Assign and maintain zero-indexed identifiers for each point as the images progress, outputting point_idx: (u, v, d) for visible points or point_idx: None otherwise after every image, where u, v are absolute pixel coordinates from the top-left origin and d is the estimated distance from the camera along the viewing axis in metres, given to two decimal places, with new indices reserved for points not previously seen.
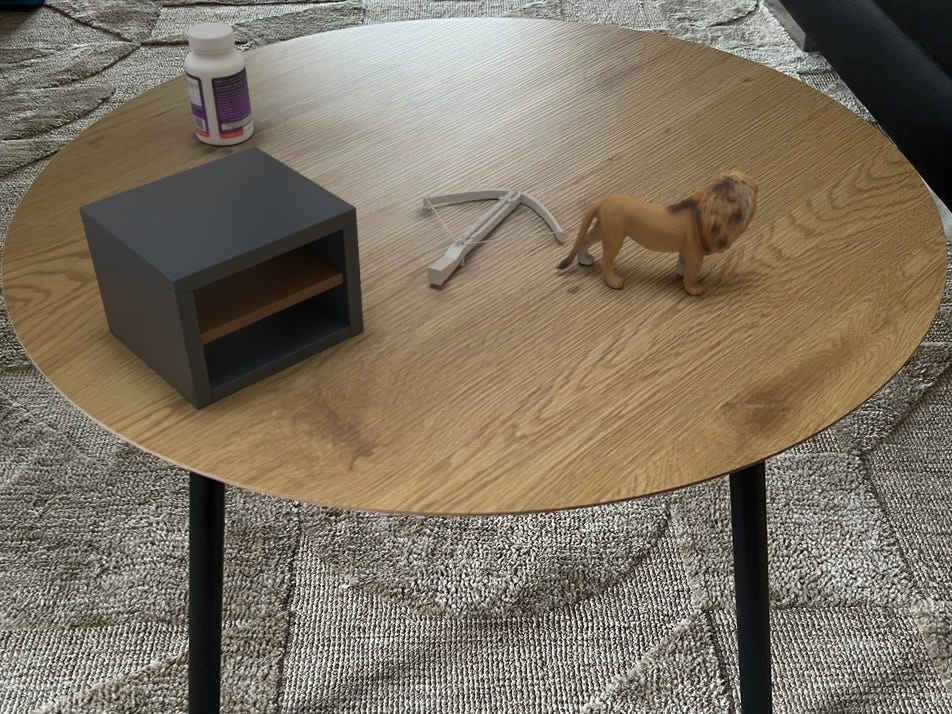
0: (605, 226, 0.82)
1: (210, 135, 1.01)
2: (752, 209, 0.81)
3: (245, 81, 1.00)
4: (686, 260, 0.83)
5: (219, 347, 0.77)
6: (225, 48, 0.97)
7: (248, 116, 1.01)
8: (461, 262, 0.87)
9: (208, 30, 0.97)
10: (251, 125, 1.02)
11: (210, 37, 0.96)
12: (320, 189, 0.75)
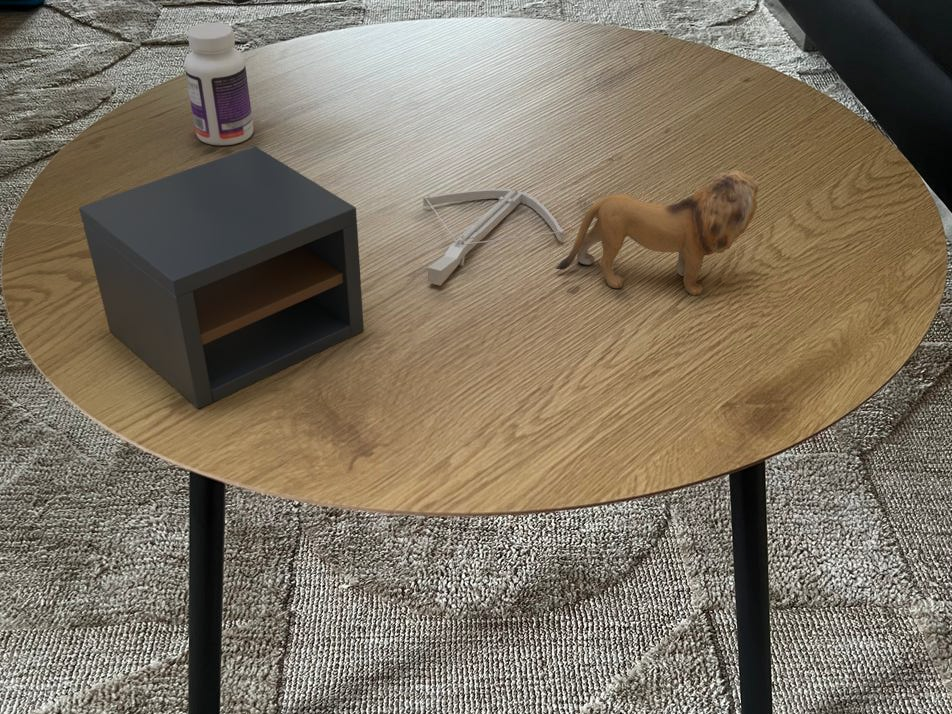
0: (605, 226, 0.82)
1: (210, 135, 1.01)
2: (752, 209, 0.81)
3: (245, 81, 1.00)
4: (686, 260, 0.83)
5: (219, 347, 0.77)
6: (225, 48, 0.97)
7: (248, 116, 1.01)
8: (461, 262, 0.87)
9: (208, 30, 0.97)
10: (251, 125, 1.02)
11: (210, 37, 0.96)
12: (320, 189, 0.75)
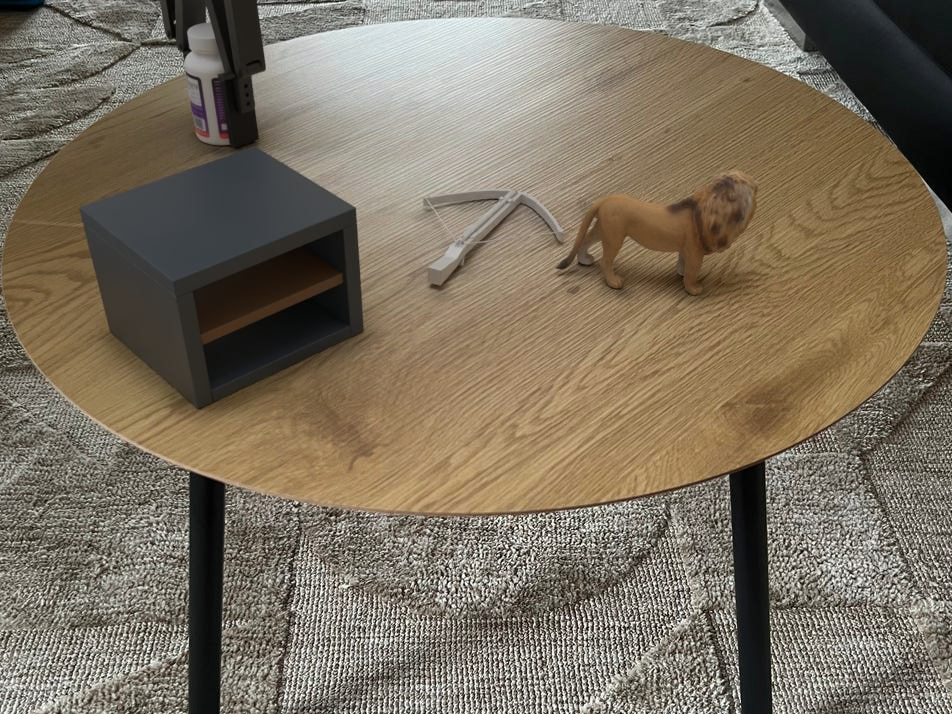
0: (605, 226, 0.83)
1: (209, 135, 1.01)
2: (752, 209, 0.81)
3: None
4: (686, 260, 0.83)
5: (219, 347, 0.77)
6: None
7: None
8: (461, 262, 0.87)
9: (208, 30, 0.97)
10: None
11: (210, 37, 0.96)
12: (320, 189, 0.75)
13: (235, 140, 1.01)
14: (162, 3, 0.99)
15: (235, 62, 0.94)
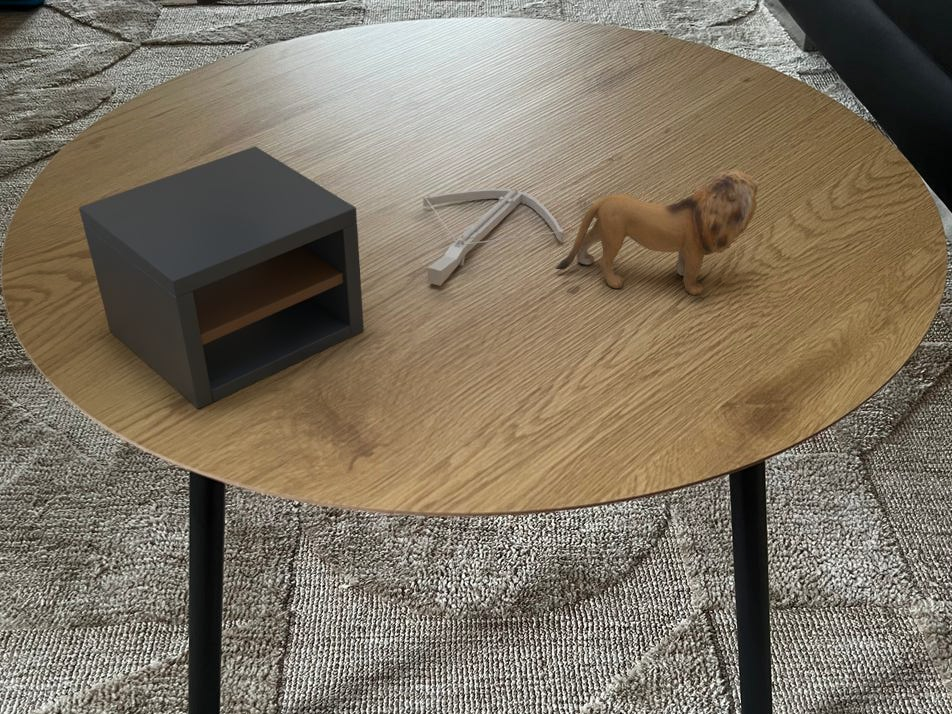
0: (605, 226, 0.83)
1: None
2: (752, 208, 0.81)
3: None
4: (686, 260, 0.83)
5: (219, 347, 0.77)
6: None
7: None
8: (461, 262, 0.87)
9: None
10: None
11: None
12: (320, 189, 0.75)
13: None
14: None
15: None
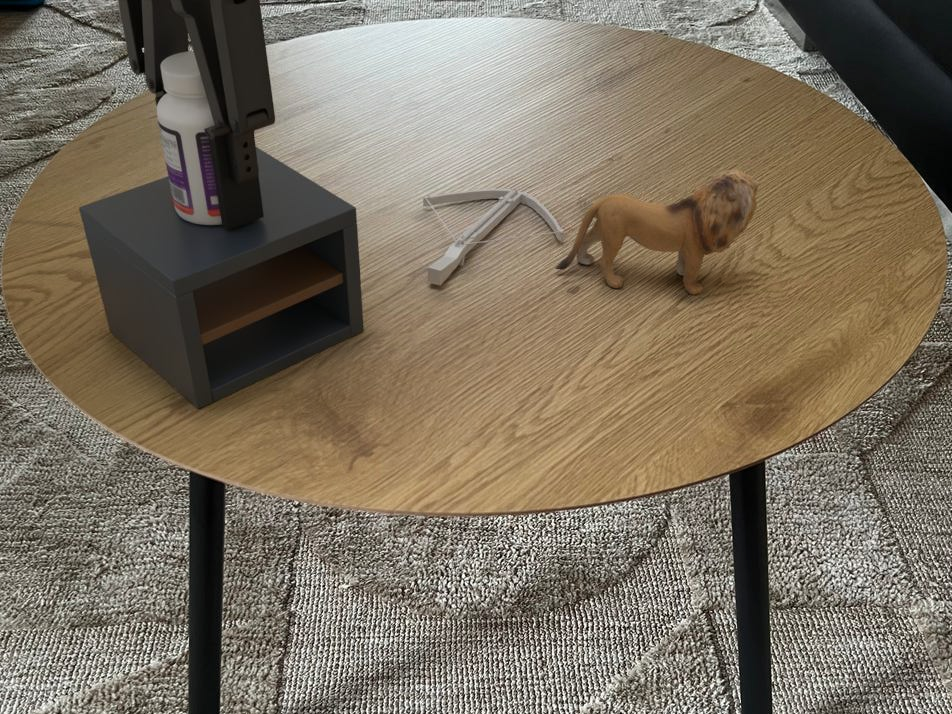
0: (605, 226, 0.83)
1: (194, 211, 0.70)
2: (752, 208, 0.81)
3: None
4: (686, 259, 0.83)
5: (219, 347, 0.77)
6: None
7: None
8: (461, 262, 0.87)
9: (191, 63, 0.66)
10: None
11: (193, 74, 0.65)
12: (320, 189, 0.75)
13: (230, 220, 0.70)
14: (126, 23, 0.68)
15: (230, 112, 0.64)
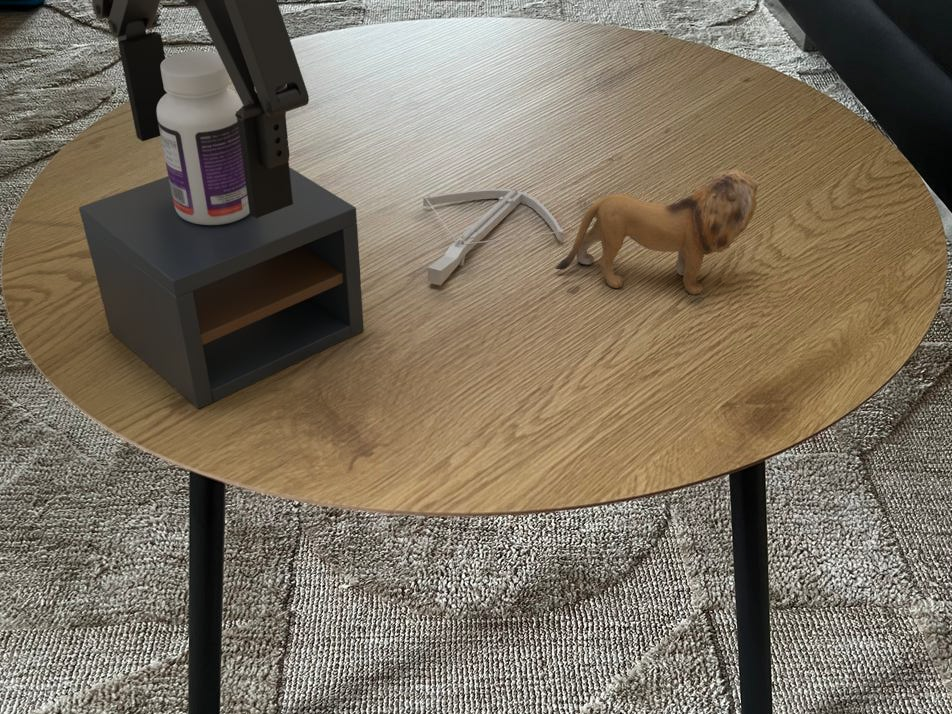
0: (605, 226, 0.83)
1: (194, 211, 0.70)
2: (751, 208, 0.81)
3: None
4: (686, 259, 0.83)
5: (219, 347, 0.77)
6: (216, 90, 0.66)
7: None
8: (461, 262, 0.87)
9: (191, 63, 0.66)
10: None
11: (193, 74, 0.65)
12: (320, 189, 0.75)
13: (258, 207, 0.66)
14: None
15: (259, 93, 0.60)
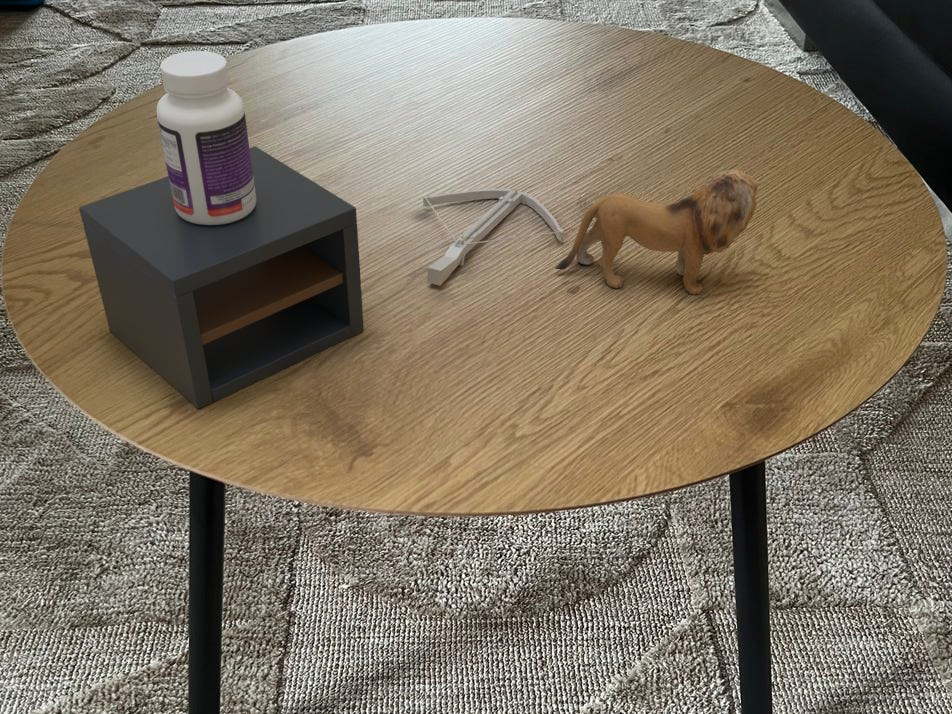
0: (605, 226, 0.83)
1: (194, 211, 0.70)
2: (751, 208, 0.81)
3: (245, 135, 0.69)
4: (686, 259, 0.83)
5: (219, 347, 0.77)
6: (216, 89, 0.66)
7: (248, 183, 0.71)
8: (461, 262, 0.87)
9: (191, 63, 0.66)
10: (253, 195, 0.72)
11: (193, 74, 0.65)
12: (320, 189, 0.75)
13: None
14: None
15: None
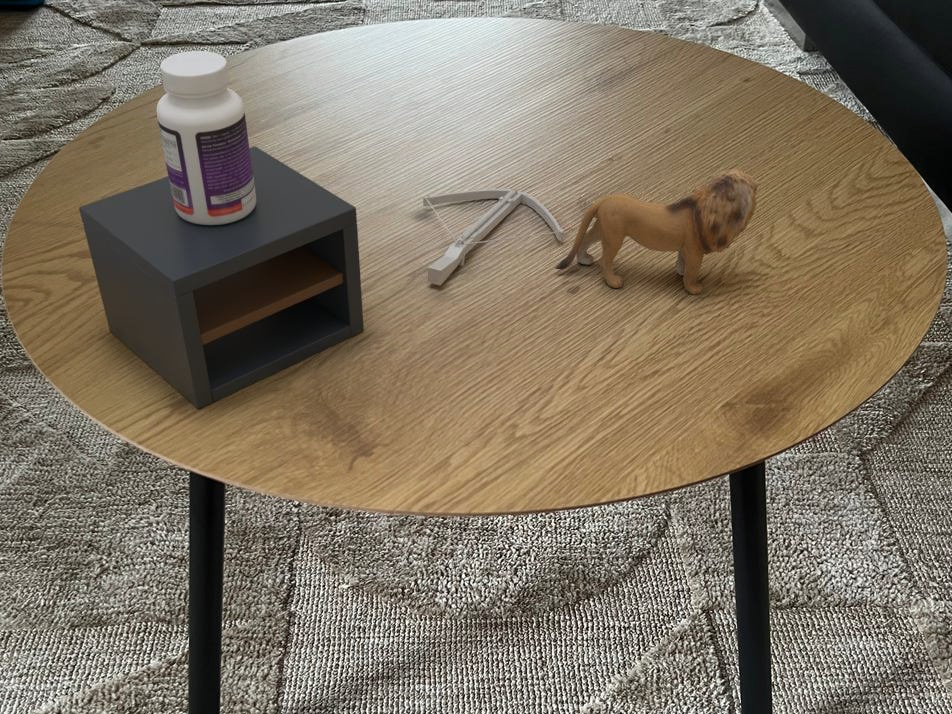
0: (605, 226, 0.83)
1: (194, 211, 0.70)
2: (751, 208, 0.81)
3: (244, 135, 0.69)
4: (686, 259, 0.83)
5: (219, 347, 0.77)
6: (216, 89, 0.66)
7: (248, 183, 0.71)
8: (461, 262, 0.87)
9: (191, 63, 0.66)
10: (253, 195, 0.72)
11: (193, 74, 0.65)
12: (320, 189, 0.75)
13: None
14: None
15: None
